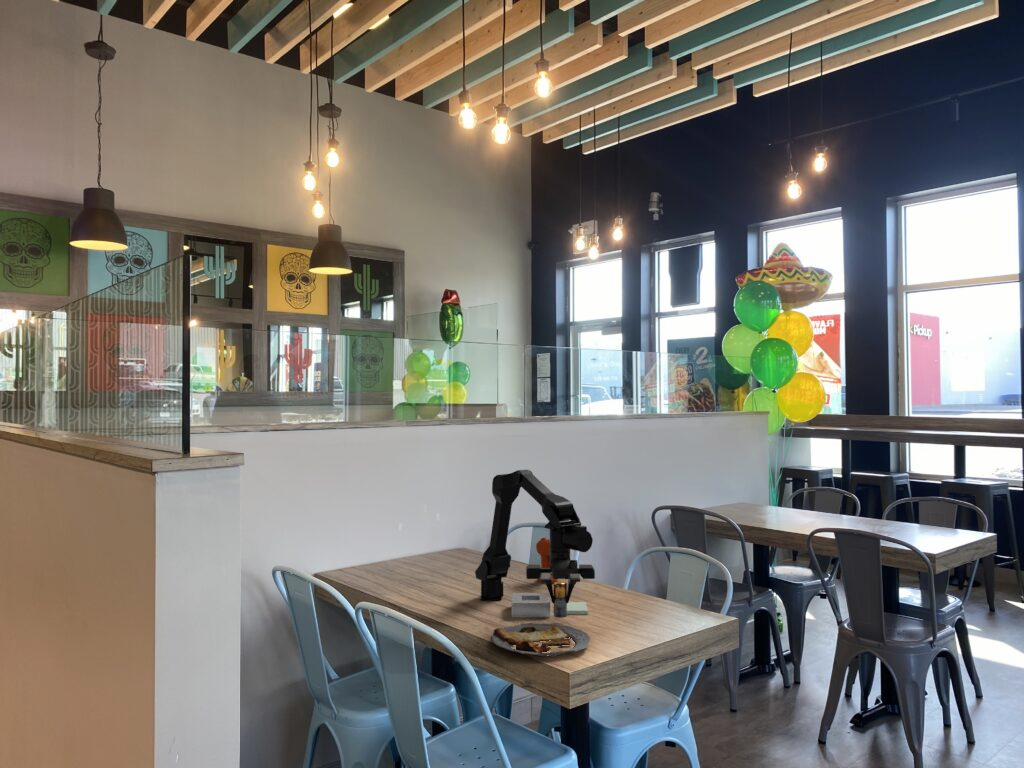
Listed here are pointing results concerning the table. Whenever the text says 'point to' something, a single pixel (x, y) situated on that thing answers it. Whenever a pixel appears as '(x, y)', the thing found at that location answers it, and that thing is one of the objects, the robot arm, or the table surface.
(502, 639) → the food plate
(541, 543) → the toy drill
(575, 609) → the green mat
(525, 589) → the table surface
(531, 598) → the block
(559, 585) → the gold and grey cylinder
